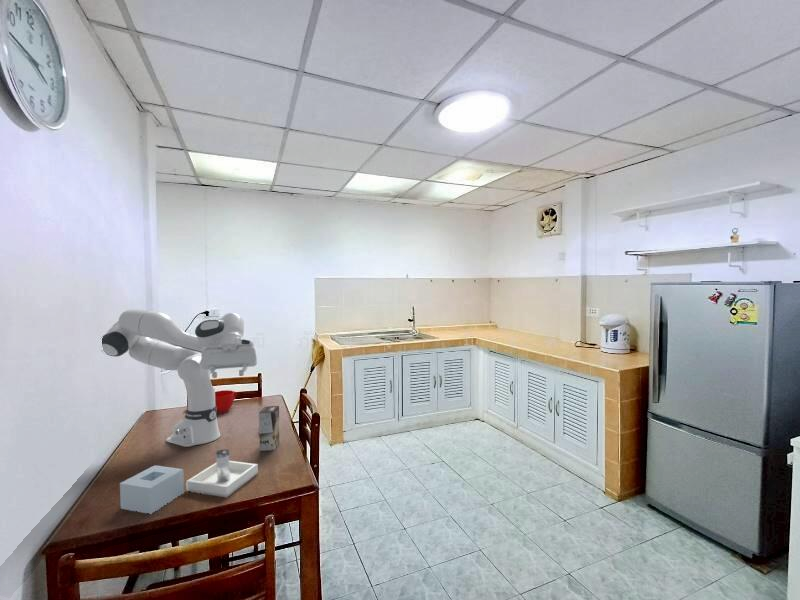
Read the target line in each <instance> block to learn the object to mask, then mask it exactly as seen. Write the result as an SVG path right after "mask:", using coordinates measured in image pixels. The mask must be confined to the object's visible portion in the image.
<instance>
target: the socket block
mask: <svg viewBox="0 0 800 600" xmlns="http://www.w3.org/2000/svg"><path fill="white" fill-rule="evenodd" d="M119 491H120V492H119V494H120V496H119V497H120V509H122V510H127V511H131V512H136V511H137V512H138V513H142V514H147V513H149V514H148V515H152V513H153V512H154V513H156V512H157V511H158V510H161V507H162V508H163V507H164V505H165V506H166V505H168V504H170V503H171V502H173V501H174V500H176V499H177V498H178V496H179V497H180V496H182V495H183V494H184V493H185V479H184V469H183V468H176V467H170V466H162V465H153V466H151V467H149V468H147V469H144V470H142V471H141V472H139V473H136V474H135V475H134V476H131V477H130V478H127V479H126V480H124V481H121V482H119ZM181 494H182V495H181ZM175 498H176V499H175ZM173 499H174V500H173ZM167 503H168V504H167ZM155 511H156V512H155ZM154 513H153V514H154Z"/></svg>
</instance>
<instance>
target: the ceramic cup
mask: <svg viewBox="0 0 800 600" xmlns="http://www.w3.org/2000/svg"><path fill="white" fill-rule="evenodd" d="M237 397H238V392H237V391H236V390H235V391H234V390H231V389H230V390H216V391H215V405H216V408H217V414H224V413H226V412H227V413H228V411H229V410H230V409H231V408H232V405H233V403H234V401H235V400H236V398H237Z"/></svg>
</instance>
